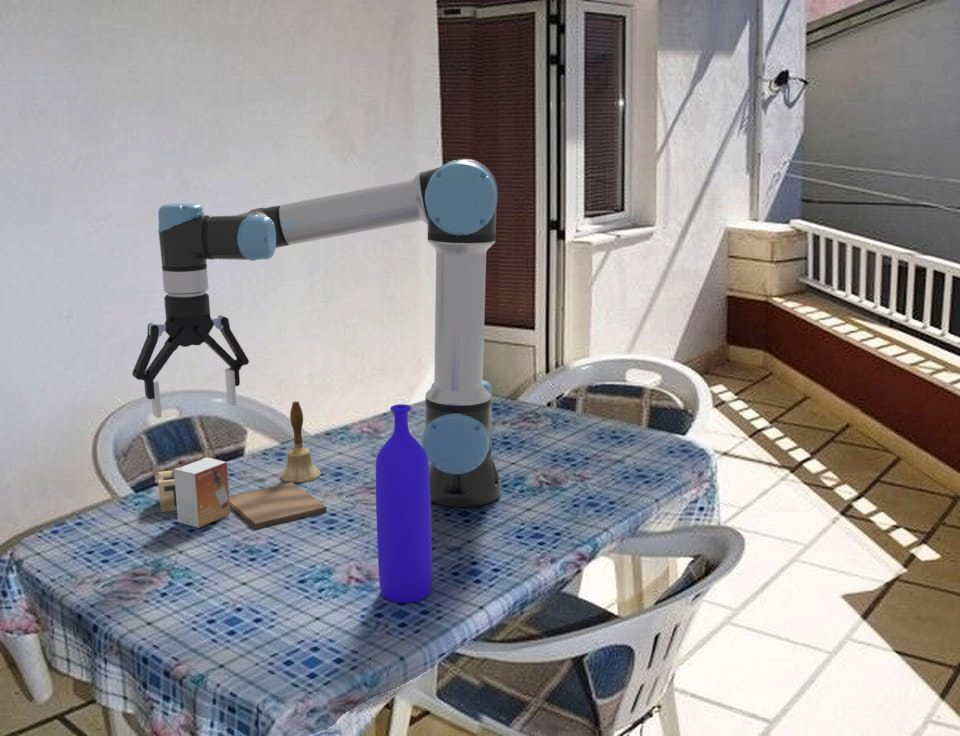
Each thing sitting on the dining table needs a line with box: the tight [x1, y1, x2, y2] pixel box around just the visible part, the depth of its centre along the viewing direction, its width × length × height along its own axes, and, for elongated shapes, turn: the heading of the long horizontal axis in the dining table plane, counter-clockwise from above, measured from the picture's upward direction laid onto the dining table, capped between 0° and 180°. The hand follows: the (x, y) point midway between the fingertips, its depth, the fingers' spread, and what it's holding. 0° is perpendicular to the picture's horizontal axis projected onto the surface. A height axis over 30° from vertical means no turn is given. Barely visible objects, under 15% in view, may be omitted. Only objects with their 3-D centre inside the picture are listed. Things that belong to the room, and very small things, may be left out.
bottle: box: [375, 403, 433, 604], centre depth 146 cm, size 8×8×30 cm
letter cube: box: [157, 469, 177, 513], centre depth 185 cm, size 6×6×6 cm
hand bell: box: [280, 400, 322, 484], centre depth 199 cm, size 8×8×16 cm
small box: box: [173, 457, 231, 529], centre depth 178 cm, size 8×6×10 cm
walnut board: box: [229, 482, 328, 529], centre depth 185 cm, size 16×14×1 cm
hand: (195, 409), depth 174 cm, fingers open, 13 cm apart
